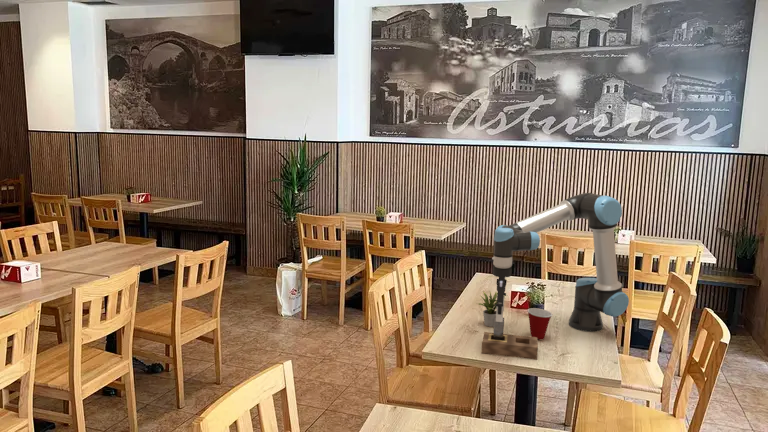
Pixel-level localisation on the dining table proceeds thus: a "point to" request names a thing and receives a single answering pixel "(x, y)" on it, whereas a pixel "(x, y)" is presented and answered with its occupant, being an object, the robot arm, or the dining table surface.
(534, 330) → the plastic cup
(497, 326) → the pin
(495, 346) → the hole block
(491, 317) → the house plant
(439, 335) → the dining table surface
